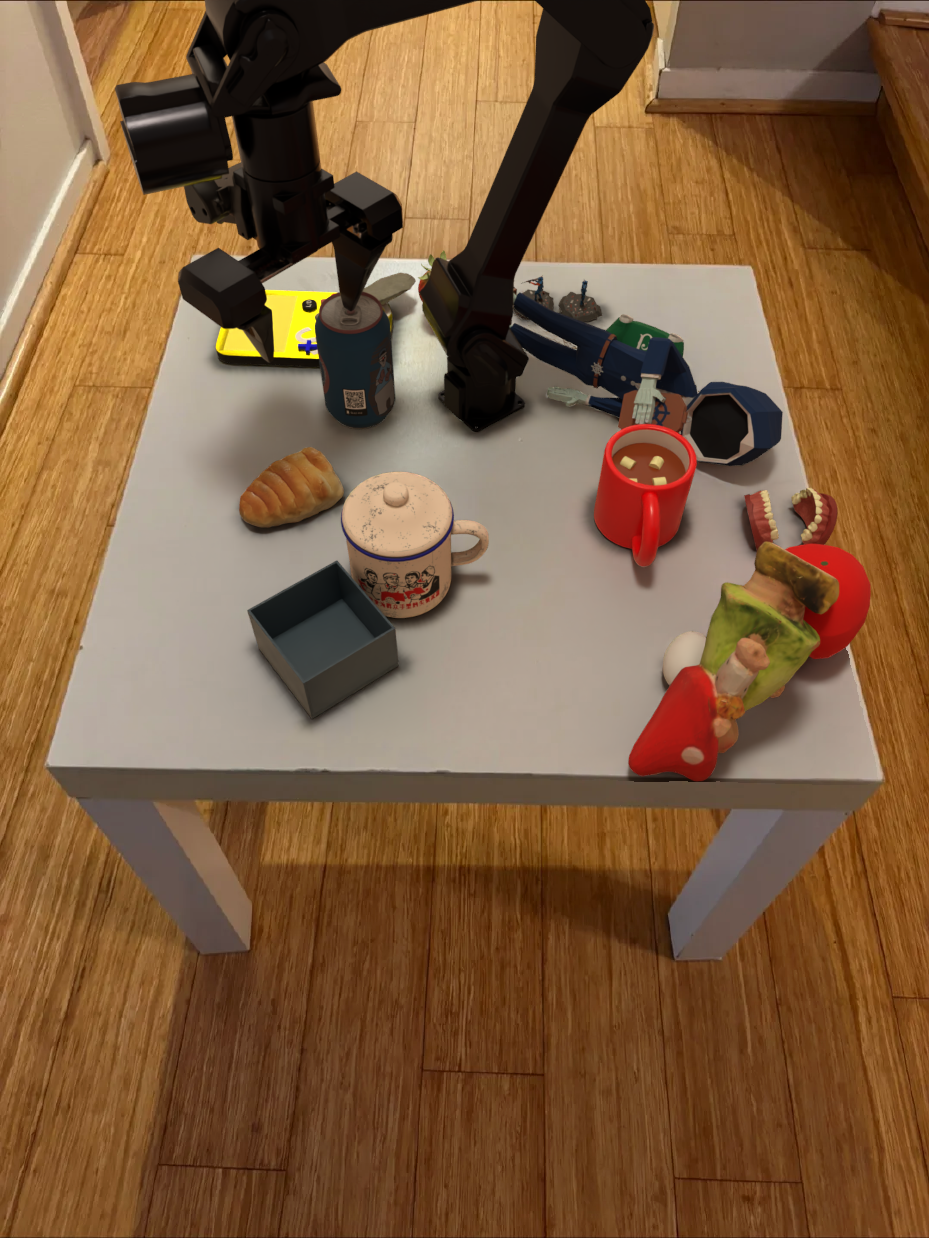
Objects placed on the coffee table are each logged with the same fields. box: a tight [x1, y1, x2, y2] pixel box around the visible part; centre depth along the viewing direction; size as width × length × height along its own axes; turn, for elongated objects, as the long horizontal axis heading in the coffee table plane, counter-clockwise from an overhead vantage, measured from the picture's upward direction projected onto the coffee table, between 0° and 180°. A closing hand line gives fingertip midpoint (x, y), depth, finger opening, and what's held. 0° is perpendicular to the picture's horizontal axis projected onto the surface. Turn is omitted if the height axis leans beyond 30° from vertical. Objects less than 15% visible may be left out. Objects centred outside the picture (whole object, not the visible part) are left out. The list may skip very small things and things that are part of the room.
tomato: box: [784, 543, 872, 660], centre depth 80 cm, size 9×10×8 cm
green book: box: [605, 313, 685, 358], centre depth 100 cm, size 9×4×6 cm
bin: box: [246, 559, 399, 720], centre depth 79 cm, size 8×8×6 cm
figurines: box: [513, 275, 603, 323], centre depth 105 cm, size 10×5×4 cm, turn 85°
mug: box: [593, 424, 698, 568], centre depth 85 cm, size 8×12×8 cm, turn 179°
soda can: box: [315, 291, 396, 430], centre depth 93 cm, size 7×7×12 cm
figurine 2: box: [627, 541, 839, 782], centre depth 73 cm, size 11×9×20 cm
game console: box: [215, 289, 394, 368], centre depth 104 cm, size 18×11×2 cm, turn 89°
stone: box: [315, 272, 417, 320], centre depth 103 cm, size 13×2×5 cm
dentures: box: [743, 487, 838, 552], centre depth 88 cm, size 6×4×8 cm
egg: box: [662, 631, 706, 686], centre depth 79 cm, size 4×6×4 cm, turn 157°
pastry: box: [238, 446, 345, 529], centre depth 89 cm, size 9×7×4 cm
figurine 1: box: [510, 286, 784, 467], centre depth 93 cm, size 12×12×30 cm
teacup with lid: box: [340, 471, 490, 619], centre depth 81 cm, size 12×9×12 cm
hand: (309, 333), depth 84 cm, fingers open, 9 cm apart
